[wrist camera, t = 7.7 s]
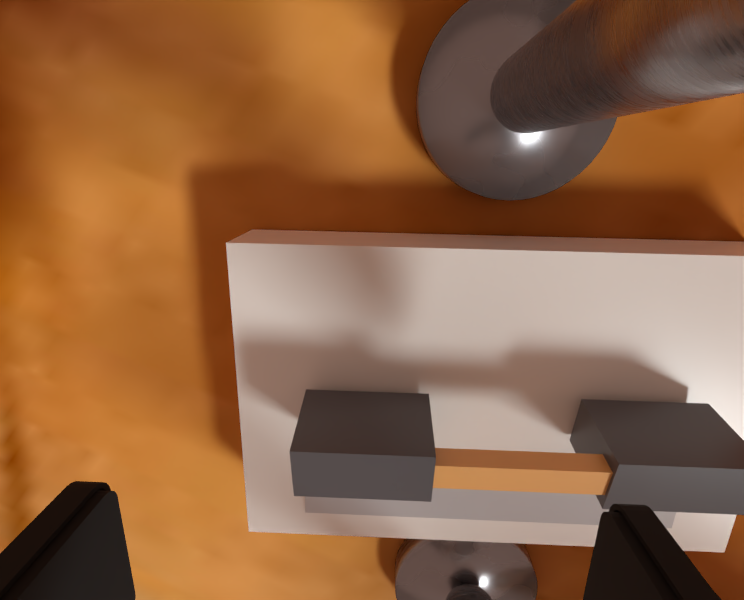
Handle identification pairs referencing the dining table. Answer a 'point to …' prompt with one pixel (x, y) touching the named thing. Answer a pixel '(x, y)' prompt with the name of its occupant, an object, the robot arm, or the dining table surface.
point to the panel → (477, 361)
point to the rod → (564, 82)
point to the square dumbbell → (520, 454)
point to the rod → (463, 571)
